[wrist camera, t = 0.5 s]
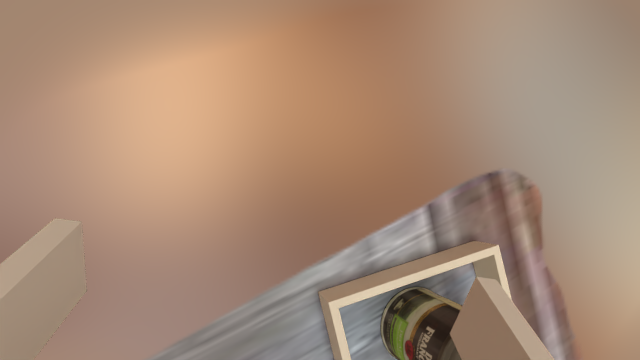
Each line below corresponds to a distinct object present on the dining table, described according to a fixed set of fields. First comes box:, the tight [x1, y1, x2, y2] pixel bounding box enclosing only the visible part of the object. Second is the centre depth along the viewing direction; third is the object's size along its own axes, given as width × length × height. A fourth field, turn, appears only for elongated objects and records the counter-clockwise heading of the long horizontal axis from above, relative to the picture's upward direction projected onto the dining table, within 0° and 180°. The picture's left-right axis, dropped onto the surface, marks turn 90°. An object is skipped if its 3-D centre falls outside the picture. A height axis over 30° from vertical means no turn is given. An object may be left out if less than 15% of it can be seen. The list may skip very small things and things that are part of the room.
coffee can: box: [381, 287, 462, 360], centre depth 43 cm, size 10×10×14 cm
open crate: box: [318, 241, 512, 360], centre depth 48 cm, size 22×24×5 cm
